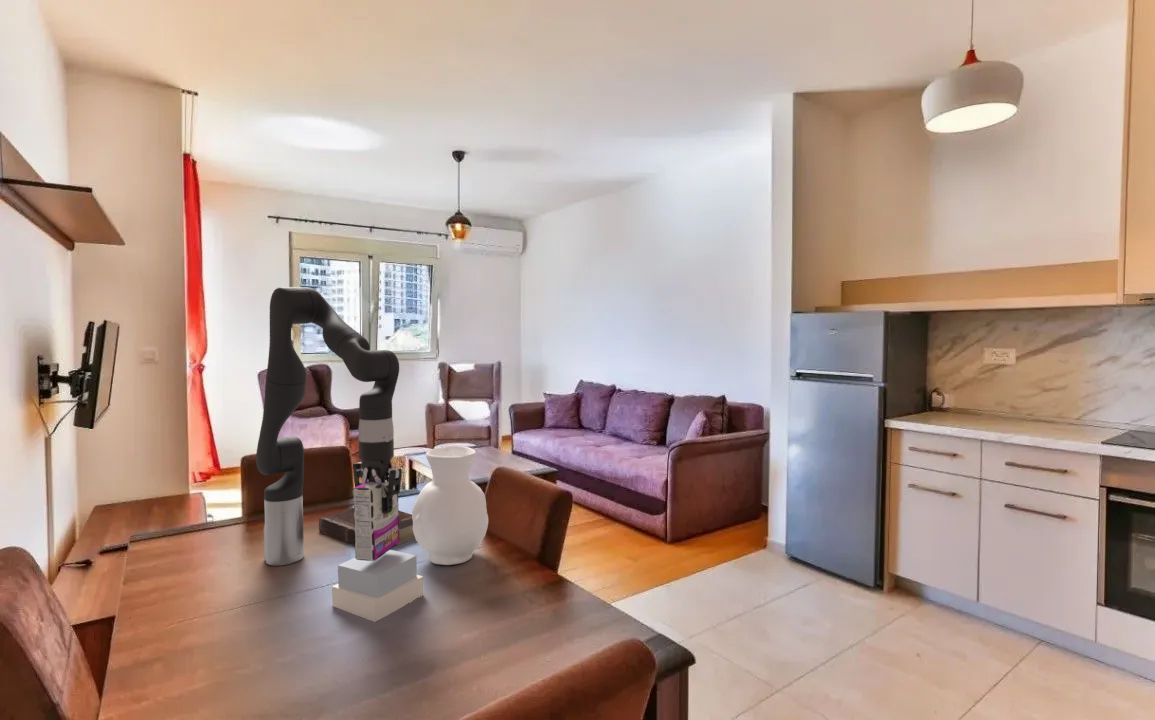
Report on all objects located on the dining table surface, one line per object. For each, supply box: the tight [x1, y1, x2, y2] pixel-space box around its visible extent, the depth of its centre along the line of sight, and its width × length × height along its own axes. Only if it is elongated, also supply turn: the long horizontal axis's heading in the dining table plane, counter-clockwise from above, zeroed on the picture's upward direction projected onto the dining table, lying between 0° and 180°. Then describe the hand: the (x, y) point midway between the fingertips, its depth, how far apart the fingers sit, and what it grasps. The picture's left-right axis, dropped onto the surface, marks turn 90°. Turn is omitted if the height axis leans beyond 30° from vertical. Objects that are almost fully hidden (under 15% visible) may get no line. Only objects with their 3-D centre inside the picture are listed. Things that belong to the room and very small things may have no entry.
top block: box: [337, 549, 418, 598], centre depth 127 cm, size 12×12×5 cm
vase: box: [411, 445, 489, 566], centre depth 151 cm, size 19×21×30 cm
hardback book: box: [318, 507, 416, 546], centre depth 171 cm, size 29×19×5 cm, turn 54°
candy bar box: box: [353, 480, 400, 561], centre depth 127 cm, size 11×5×16 cm, turn 168°
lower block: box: [331, 574, 424, 623], centre depth 128 cm, size 14×14×5 cm
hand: (377, 510), depth 127 cm, fingers closed on candy bar box, 6 cm apart
